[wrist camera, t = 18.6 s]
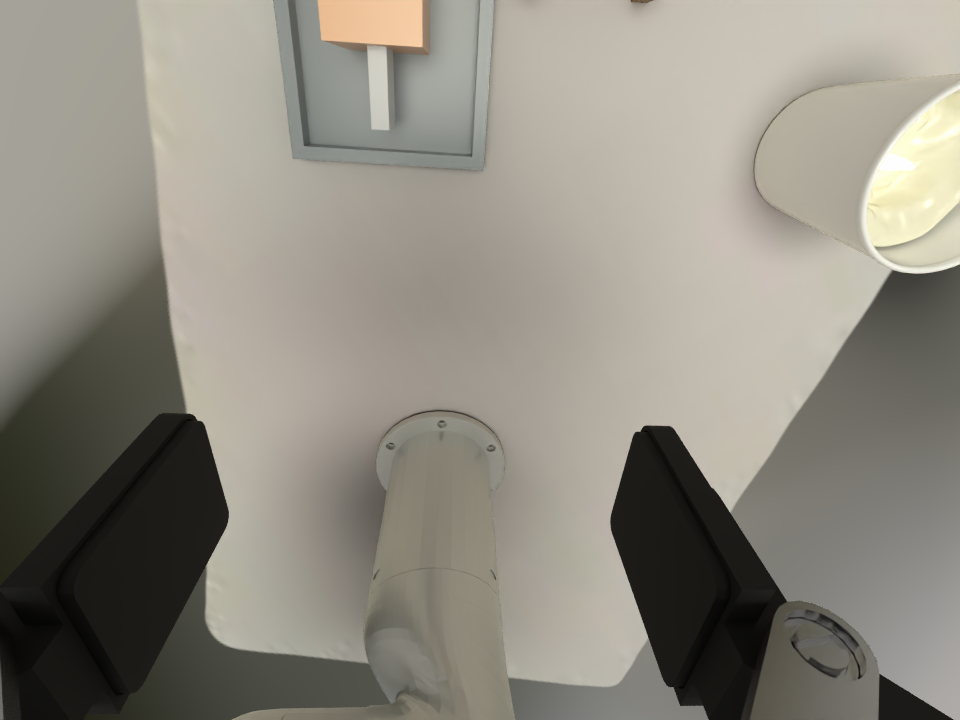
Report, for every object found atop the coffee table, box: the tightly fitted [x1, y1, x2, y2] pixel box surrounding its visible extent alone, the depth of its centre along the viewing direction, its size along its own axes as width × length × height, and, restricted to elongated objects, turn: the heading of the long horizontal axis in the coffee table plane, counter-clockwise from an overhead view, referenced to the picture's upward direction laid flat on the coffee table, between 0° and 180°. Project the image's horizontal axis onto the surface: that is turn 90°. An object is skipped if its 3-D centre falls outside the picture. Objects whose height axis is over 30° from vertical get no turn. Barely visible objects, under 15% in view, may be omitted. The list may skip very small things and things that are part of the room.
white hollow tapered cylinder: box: [754, 74, 960, 273], centre depth 29 cm, size 10×10×12 cm
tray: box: [273, 0, 494, 170], centre depth 28 cm, size 17×13×2 cm
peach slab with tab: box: [318, 0, 430, 130], centre depth 26 cm, size 11×5×7 cm, turn 177°
